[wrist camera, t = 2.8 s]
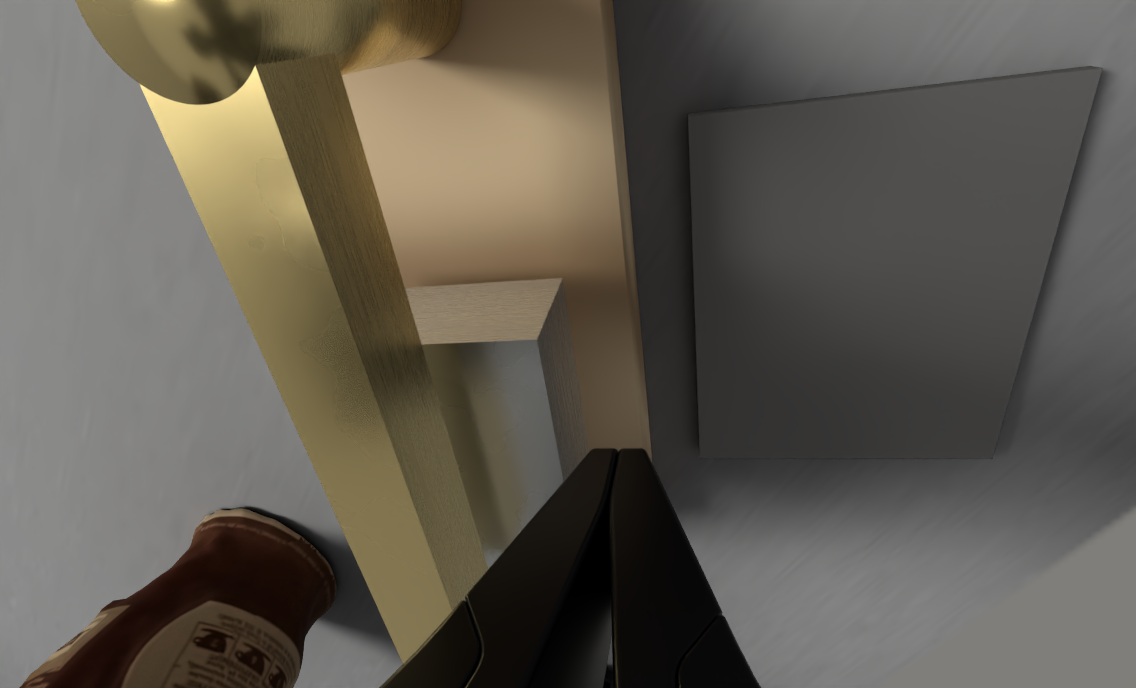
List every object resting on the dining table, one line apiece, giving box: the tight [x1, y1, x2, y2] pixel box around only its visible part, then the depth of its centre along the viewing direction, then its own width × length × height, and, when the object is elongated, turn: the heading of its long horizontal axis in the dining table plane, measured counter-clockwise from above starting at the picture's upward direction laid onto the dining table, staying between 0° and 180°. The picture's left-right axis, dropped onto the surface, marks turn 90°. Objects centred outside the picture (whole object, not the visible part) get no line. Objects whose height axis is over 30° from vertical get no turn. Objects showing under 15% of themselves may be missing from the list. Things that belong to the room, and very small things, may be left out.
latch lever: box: [75, 0, 488, 664], centre depth 11 cm, size 12×2×6 cm, turn 8°
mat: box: [688, 66, 1102, 459], centre depth 15 cm, size 10×8×1 cm
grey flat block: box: [405, 278, 589, 569], centre depth 13 cm, size 8×5×2 cm, turn 8°
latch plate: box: [342, 0, 652, 462], centre depth 14 cm, size 17×7×4 cm, turn 8°
